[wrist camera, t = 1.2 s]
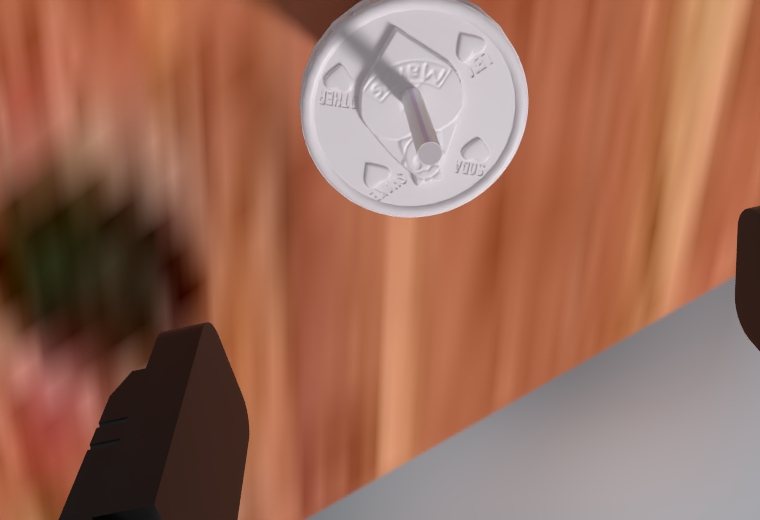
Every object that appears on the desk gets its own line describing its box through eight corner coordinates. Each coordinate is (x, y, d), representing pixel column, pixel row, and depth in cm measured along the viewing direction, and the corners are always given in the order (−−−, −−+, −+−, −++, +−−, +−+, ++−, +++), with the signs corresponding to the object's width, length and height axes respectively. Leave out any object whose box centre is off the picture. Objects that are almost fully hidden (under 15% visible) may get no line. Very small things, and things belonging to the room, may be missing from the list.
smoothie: (456, -70, 26) (562, -8, 14) (484, 97, 29) (590, 265, 17) (288, -26, 27) (250, 71, 15) (333, 134, 30) (332, 324, 18)
